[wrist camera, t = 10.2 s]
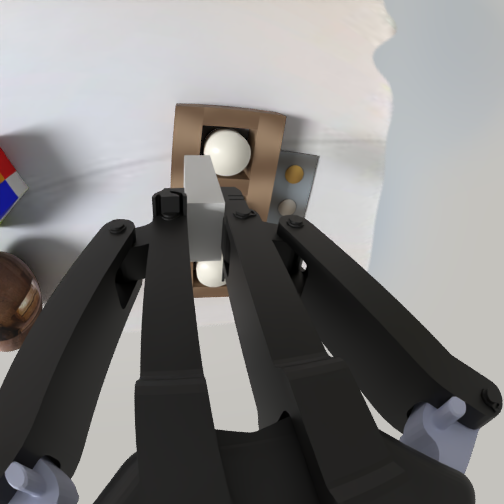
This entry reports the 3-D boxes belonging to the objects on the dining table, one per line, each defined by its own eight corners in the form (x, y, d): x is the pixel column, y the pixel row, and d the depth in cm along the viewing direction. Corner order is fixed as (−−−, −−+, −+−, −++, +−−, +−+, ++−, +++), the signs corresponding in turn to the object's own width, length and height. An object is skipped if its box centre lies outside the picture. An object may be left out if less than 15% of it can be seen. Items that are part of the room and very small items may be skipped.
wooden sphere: (-7, 293, 34) (-34, 354, 22) (-20, 225, 27) (-66, 285, 16) (56, 311, 40) (37, 381, 28) (51, 242, 33) (13, 316, 21)
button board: (176, 103, 28) (175, 106, 25) (325, 121, 33) (339, 126, 30) (171, 280, 42) (172, 298, 39) (286, 277, 47) (294, 292, 44)
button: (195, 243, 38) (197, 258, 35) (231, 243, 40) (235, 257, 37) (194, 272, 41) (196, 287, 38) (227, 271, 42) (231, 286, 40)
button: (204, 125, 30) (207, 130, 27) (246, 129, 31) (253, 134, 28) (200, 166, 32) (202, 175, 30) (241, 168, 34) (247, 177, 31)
